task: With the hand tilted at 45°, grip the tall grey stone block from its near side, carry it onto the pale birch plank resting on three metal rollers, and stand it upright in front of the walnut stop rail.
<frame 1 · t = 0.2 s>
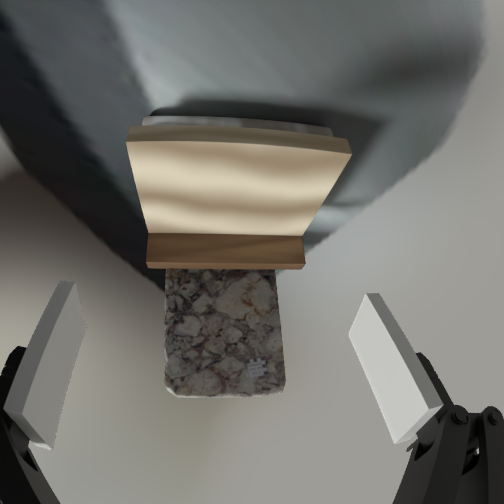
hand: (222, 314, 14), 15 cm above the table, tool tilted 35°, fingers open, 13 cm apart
stone block: (219, 235, 41), on the table
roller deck: (231, 160, 27), on the table
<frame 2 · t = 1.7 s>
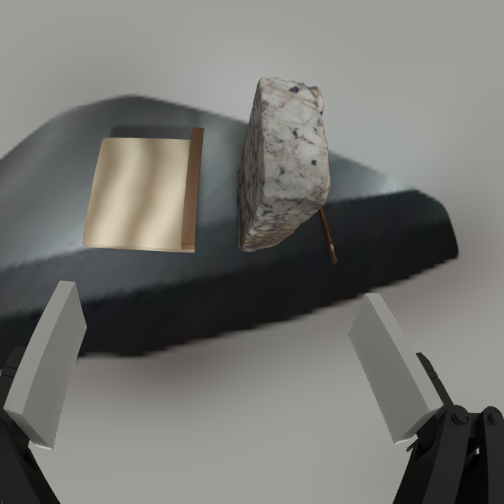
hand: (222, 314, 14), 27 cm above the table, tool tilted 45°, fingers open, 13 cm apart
dark brown thin bar: (319, 215, 47), on the table
stone block: (254, 208, 45), on the table
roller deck: (147, 201, 42), on the table
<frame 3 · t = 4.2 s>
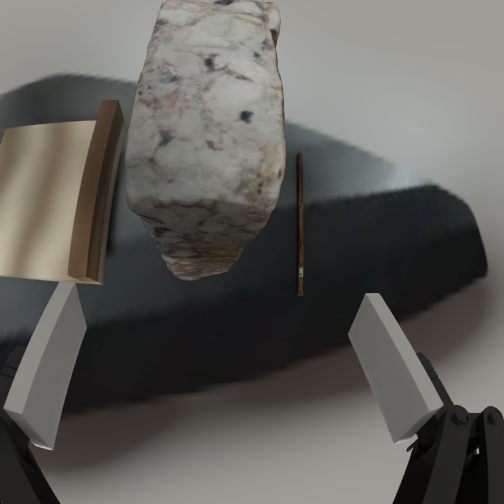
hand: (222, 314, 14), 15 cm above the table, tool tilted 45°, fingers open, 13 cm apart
dark brown thin bar: (298, 221, 32), on the table
stone block: (200, 214, 30), on the table
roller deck: (56, 209, 27), on the table
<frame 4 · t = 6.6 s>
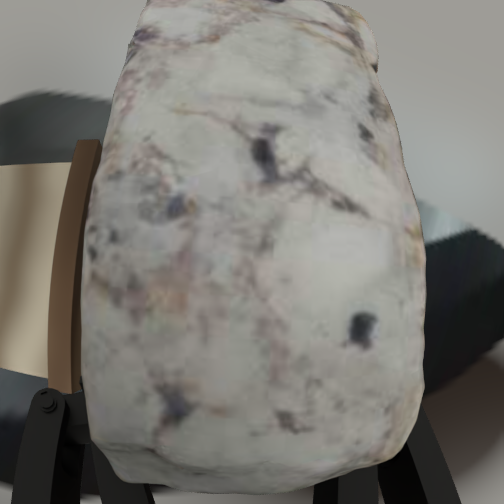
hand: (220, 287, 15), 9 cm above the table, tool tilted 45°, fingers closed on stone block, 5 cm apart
stone block: (211, 284, 24), on the table, touching gripper
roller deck: (34, 272, 22), on the table
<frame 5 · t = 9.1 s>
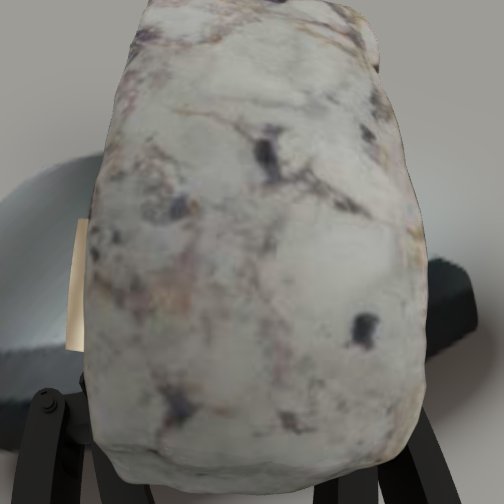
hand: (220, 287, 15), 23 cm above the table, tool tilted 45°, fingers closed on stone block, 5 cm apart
stone block: (212, 284, 24), point 14 cm above the table, touching gripper
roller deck: (134, 292, 37), on the table
when the fingers open (15 cm above the table, at t = 12.0 s): stone block drops 1 cm, resting on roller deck.
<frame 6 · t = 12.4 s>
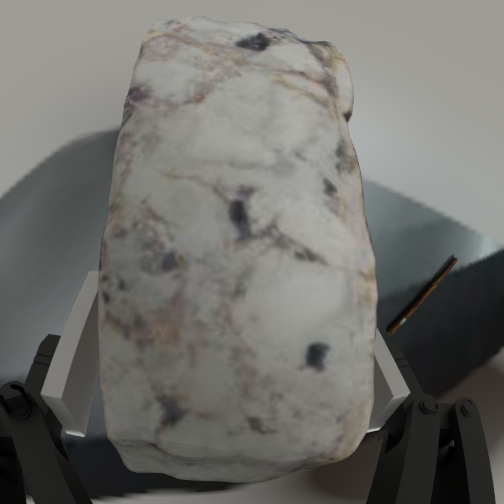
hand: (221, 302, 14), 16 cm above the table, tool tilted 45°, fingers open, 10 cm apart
dark brown thin bar: (423, 293, 35), on the table
stone block: (210, 292, 26), point 4 cm above the table, touching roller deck
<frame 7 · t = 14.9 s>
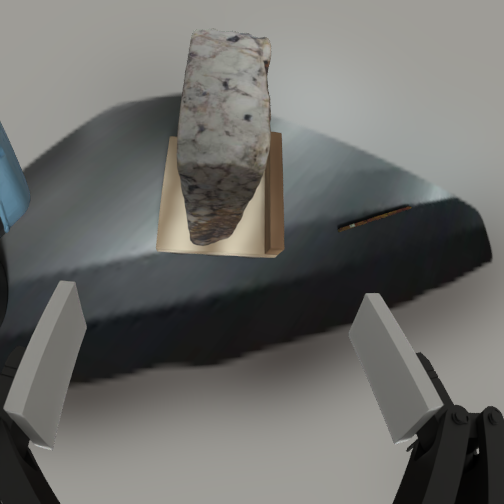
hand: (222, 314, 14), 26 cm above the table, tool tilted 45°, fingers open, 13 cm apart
dark brown thin bar: (375, 219, 47), on the table
stone block: (211, 195, 38), point 4 cm above the table, touching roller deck
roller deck: (217, 204, 42), on the table
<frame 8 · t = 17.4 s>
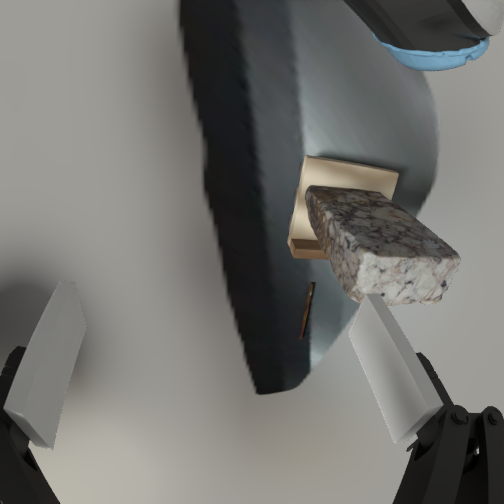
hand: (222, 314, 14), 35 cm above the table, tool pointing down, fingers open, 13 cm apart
dark brown thin bar: (304, 310, 63), on the table
stone block: (343, 202, 46), point 4 cm above the table, touching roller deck
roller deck: (335, 198, 50), on the table
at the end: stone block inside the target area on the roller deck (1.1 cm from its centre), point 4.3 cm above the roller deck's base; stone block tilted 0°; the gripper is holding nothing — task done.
